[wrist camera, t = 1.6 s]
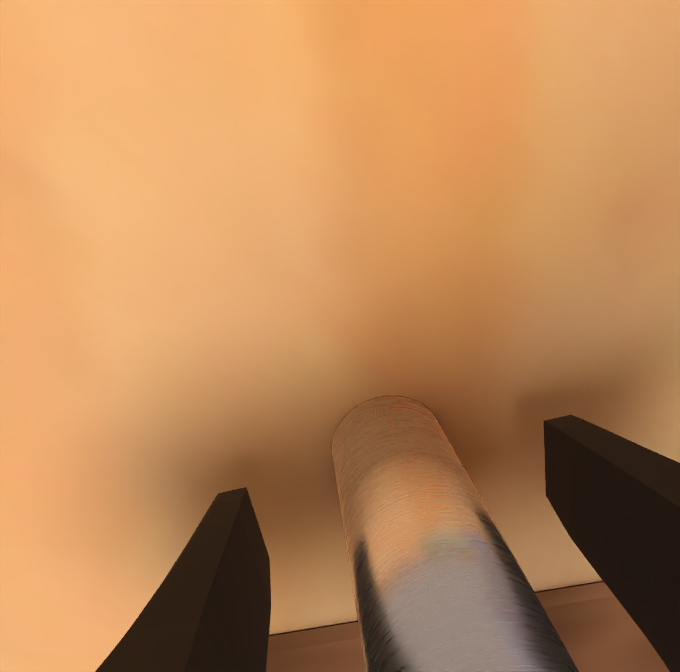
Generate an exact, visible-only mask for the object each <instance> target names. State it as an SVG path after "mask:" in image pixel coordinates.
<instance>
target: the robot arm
mask: <svg viewBox="0 0 680 672" xmlns="http://www.w3.org/2000/svg"><path fill="white" fill-rule="evenodd" d="M544 446H545V480H546V496H547V498H548V500H549V501H550V503H551V505H552V507H553V508H554V510H555V512H556V514H557V516H558V517H559V519H560V521H561V522H562V524H563V526H564V527H565V529H566V531H567V532H568V534H569V536H570V537H571V539H572V540H573V541H574V543H575V544H576V545H577V547H578V548H579V549H580V551H581V552H582V553H583V555H584V556H585V557H586V559H587V560H588V561H589V563H590V564H591V565H592V567H593V568H594V569H595V571H596V572H597V573H598V575H599V576H600V577H601V579H602V580H603V581H604V583H605V584H606V585H607V587H608V588H609V589H610V590H611V592H612V593H613V594H614V596H615V597H616V598H617V600H618V601H619V602H620V604H621V605H622V606H623V608H624V609H625V610H626V611H627V613H628V614H629V615H630V617H631V618H632V619H633V621H634V622H635V623H636V625H637V626H638V627H639V628H640V630H641V631H642V632H643V634H644V635H645V636H646V638H647V639H648V641H649V642H650V643H651V645H652V646H653V648H654V649H655V651H656V652H657V653H658V655H659V656H660V658H661V659H662V660H663V662H664V663H665V665H666V667H667V668H668V670H669V671H670V672H680V463H679V462H676V461H674V460H672V459H669V458H667V457H665V456H662V455H660V454H658V453H656V452H653V451H651V450H649V449H647V448H644V447H642V446H640V445H638V444H636V443H633V442H631V441H629V440H627V439H625V438H622V437H620V436H618V435H616V434H614V433H612V432H609V431H607V430H605V429H603V428H601V427H598V426H596V425H594V424H592V423H589V422H587V421H585V420H582V419H580V418H577V417H575V416H572V415H568V416H564V417H559V418H555V419H550V420H546V421H544ZM270 613H271V587H270V561H269V555H268V552H267V549H266V546H265V543H264V540H263V537H262V534H261V531H260V528H259V525H258V522H257V519H256V515H255V512H254V509H253V506H252V503H251V500H250V497H249V494H248V491H247V488H241V489H237V490H232V491H228V492H223V493H219V494H218V495H217V496H216V498H215V499H214V501H213V503H212V504H211V506H210V507H209V509H208V511H207V512H206V514H205V516H204V517H203V519H202V521H201V522H200V524H199V526H198V527H197V529H196V531H195V532H194V534H193V535H192V537H191V539H190V540H189V542H188V544H187V545H186V547H185V548H184V550H183V551H182V553H181V555H180V556H179V558H178V559H177V561H176V562H175V564H174V565H173V567H172V569H171V570H170V572H169V573H168V575H167V576H166V578H165V579H164V581H163V582H162V584H161V585H160V587H159V588H158V590H157V591H156V592H155V594H154V595H153V597H152V598H151V599H150V601H149V602H148V604H147V605H146V607H145V608H144V609H143V611H142V612H141V614H140V615H139V616H138V618H137V619H136V621H135V622H134V623H133V625H132V626H131V627H130V629H129V630H128V631H127V633H126V634H125V635H124V637H123V638H122V639H121V641H120V642H119V643H118V644H117V646H116V647H115V648H114V650H113V651H112V652H111V653H110V654H109V656H108V657H107V658H106V659H105V660H104V662H103V663H102V664H101V665H100V667H99V668H98V669H97V670H96V671H95V672H266V665H267V653H268V640H269V627H270Z"/></svg>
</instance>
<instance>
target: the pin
mask: <svg viewBox="0 0 680 672" xmlns="http://www.w3.org/2000/svg"><path fill="white" fill-rule="evenodd" d="M332 456H333V463H334V469H335V476H336V482H337V488H338V495H339V501H340V508H341V514H342V520H343V527H344V533H345V540H346V546H347V552H348V559H349V565H350V572H351V578H352V584H353V591H354V597H355V604H356V610H357V616H358V623H359V629H360V636H361V642H362V648H363V655H364V661H365V668H366V672H579V670H578V668H577V666H576V665H575V663H574V661H573V659H572V658H571V656H570V654H569V652H568V651H567V649H566V647H565V645H564V643H563V642H562V640H561V638H560V636H559V635H558V633H557V631H556V629H555V628H554V626H553V624H552V622H551V621H550V619H549V617H548V615H547V613H546V612H545V610H544V608H543V606H542V605H541V603H540V601H539V599H538V598H537V596H536V594H535V592H534V591H533V589H532V587H531V585H530V583H529V582H528V580H527V578H526V576H525V575H524V573H523V571H522V569H521V568H520V566H519V564H518V562H517V560H516V559H515V557H514V555H513V553H512V552H511V550H510V548H509V546H508V545H507V543H506V541H505V539H504V538H503V536H502V534H501V532H500V530H499V529H498V527H497V525H496V523H495V522H494V520H493V518H492V516H491V515H490V513H489V511H488V509H487V508H486V506H485V504H484V502H483V500H482V499H481V497H480V495H479V493H478V492H477V490H476V488H475V486H474V485H473V483H472V481H471V479H470V478H469V476H468V474H467V472H466V470H465V469H464V467H463V465H462V463H461V462H460V460H459V458H458V456H457V455H456V453H455V451H454V449H453V447H452V446H451V444H450V442H449V440H448V439H447V437H446V435H445V433H444V432H443V430H442V428H441V426H440V425H439V423H438V421H437V419H436V418H435V416H434V415H433V413H432V412H431V411H430V410H429V409H428V408H427V407H425V406H424V405H422V404H421V403H419V402H417V401H415V400H413V399H409V398H406V397H400V396H385V397H379V398H375V399H372V400H369V401H367V402H364V403H362V404H360V405H359V406H357V407H356V408H354V409H353V410H352V411H350V412H349V413H348V414H347V415H346V416H345V417H344V418H343V420H342V421H341V422H340V424H339V425H338V427H337V429H336V431H335V434H334V437H333V441H332Z"/></svg>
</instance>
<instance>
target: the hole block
mask: <svg viewBox="0 0 680 672" xmlns="http://www.w3.org/2000/svg"><path fill="white" fill-rule="evenodd" d="M535 594H536V596H537V598H538V599H539V601H540V603H541V605H542V606H543V608H544V610H545V612H546V613H547V615H548V617H549V619H550V621H551V622H552V624H553V626H554V628H555V629H556V631H557V633H558V635H559V636H560V638H561V640H562V642H563V643H564V645H565V647H566V649H567V651H568V652H569V654H570V656H571V658H572V659H573V661H574V663H575V665H576V666H577V668H578V670H579V672H670V671H669V670H668V668H667V667H666V665H665V663H664V662H663V660H662V659H661V658H660V656H659V655H658V653H657V652H656V651H655V649H654V648H653V646H652V645H651V643H650V642H649V641H648V639H647V638H646V636H645V635H644V634H643V632H642V631H641V630H640V628H639V627H638V626H637V625H636V623H635V622H634V621H633V619H632V618H631V617H630V615H629V614H628V613H627V611H626V610H625V609H624V608H623V606H622V605H621V604H620V602H619V601H618V600H617V598H616V597H615V596H614V594H613V593H612V592H611V590H610V589H609V588H608V587H607V585H606V584H605V583H604V582H600V583H594V584H588V585H582V586H575V587H569V588H563V589H557V590H551V591H545V592H539V593H535ZM266 672H366V668H365V661H364V655H363V648H362V642H361V636H360V629H359V623H358V622H354V623H348V624H342V625H335V626H329V627H323V628H317V629H311V630H305V631H298V632H292V633H286V634H280V635H274V636H269V640H268V653H267V665H266Z"/></svg>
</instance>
